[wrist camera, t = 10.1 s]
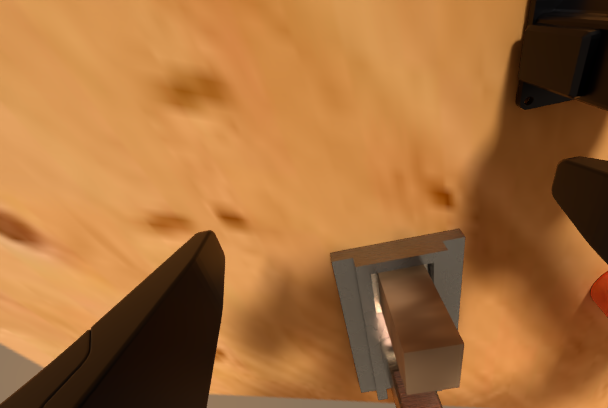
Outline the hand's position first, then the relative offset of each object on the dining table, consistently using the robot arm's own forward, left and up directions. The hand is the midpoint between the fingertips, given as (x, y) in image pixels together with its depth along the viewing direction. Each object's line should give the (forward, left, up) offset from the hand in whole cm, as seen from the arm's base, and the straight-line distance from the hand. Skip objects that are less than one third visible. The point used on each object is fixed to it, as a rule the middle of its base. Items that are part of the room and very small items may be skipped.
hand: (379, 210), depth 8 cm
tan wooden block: (-3, +16, -11) cm, 20 cm away
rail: (-3, +22, -12) cm, 25 cm away
